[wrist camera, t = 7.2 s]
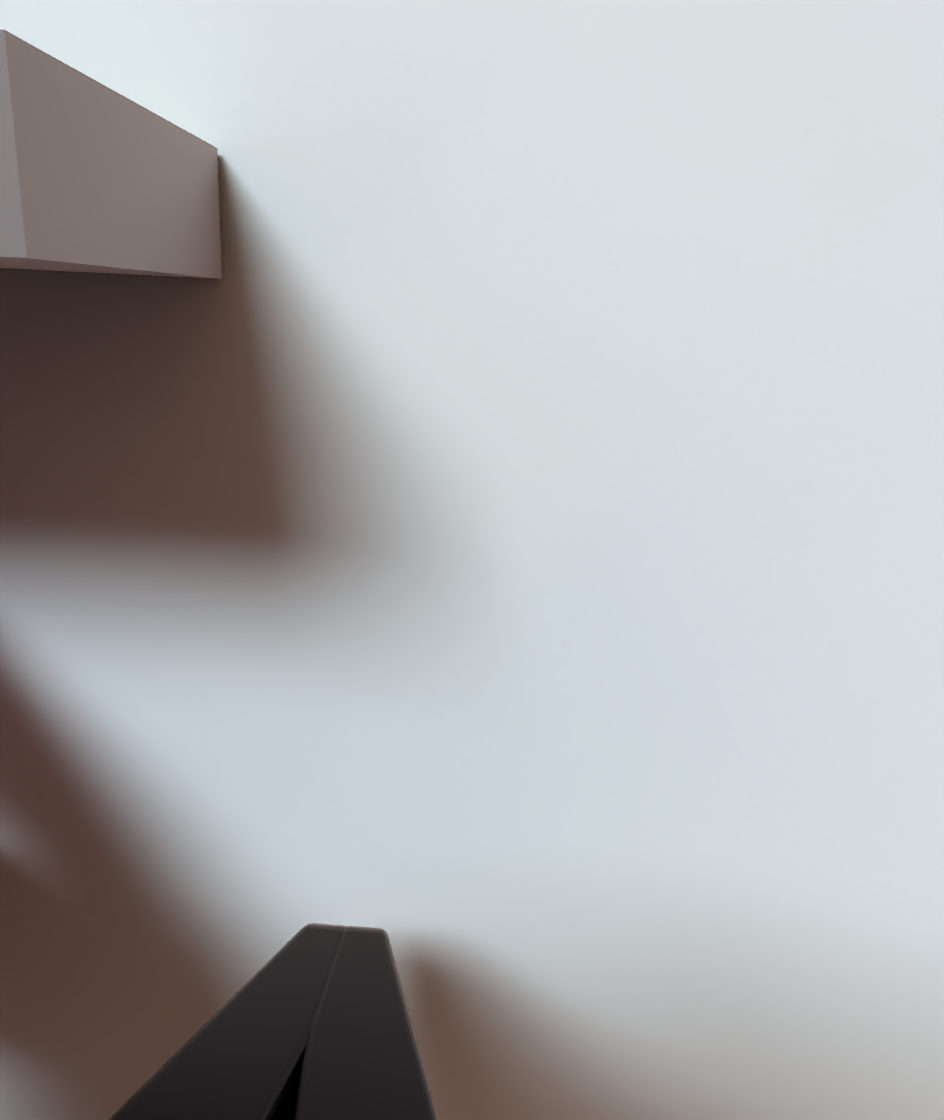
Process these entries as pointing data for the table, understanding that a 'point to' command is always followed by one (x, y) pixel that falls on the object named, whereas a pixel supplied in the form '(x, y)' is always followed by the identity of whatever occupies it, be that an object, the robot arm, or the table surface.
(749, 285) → the table surface
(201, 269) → the sorting bay
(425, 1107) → the robot arm
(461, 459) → the table surface
